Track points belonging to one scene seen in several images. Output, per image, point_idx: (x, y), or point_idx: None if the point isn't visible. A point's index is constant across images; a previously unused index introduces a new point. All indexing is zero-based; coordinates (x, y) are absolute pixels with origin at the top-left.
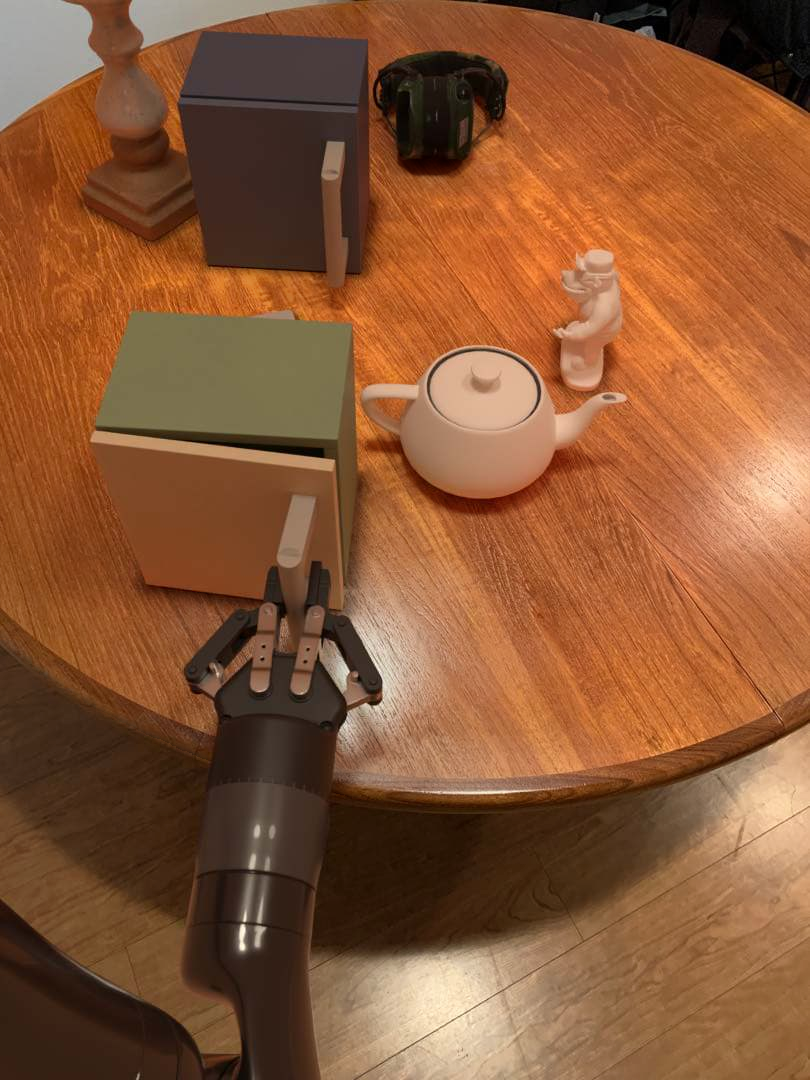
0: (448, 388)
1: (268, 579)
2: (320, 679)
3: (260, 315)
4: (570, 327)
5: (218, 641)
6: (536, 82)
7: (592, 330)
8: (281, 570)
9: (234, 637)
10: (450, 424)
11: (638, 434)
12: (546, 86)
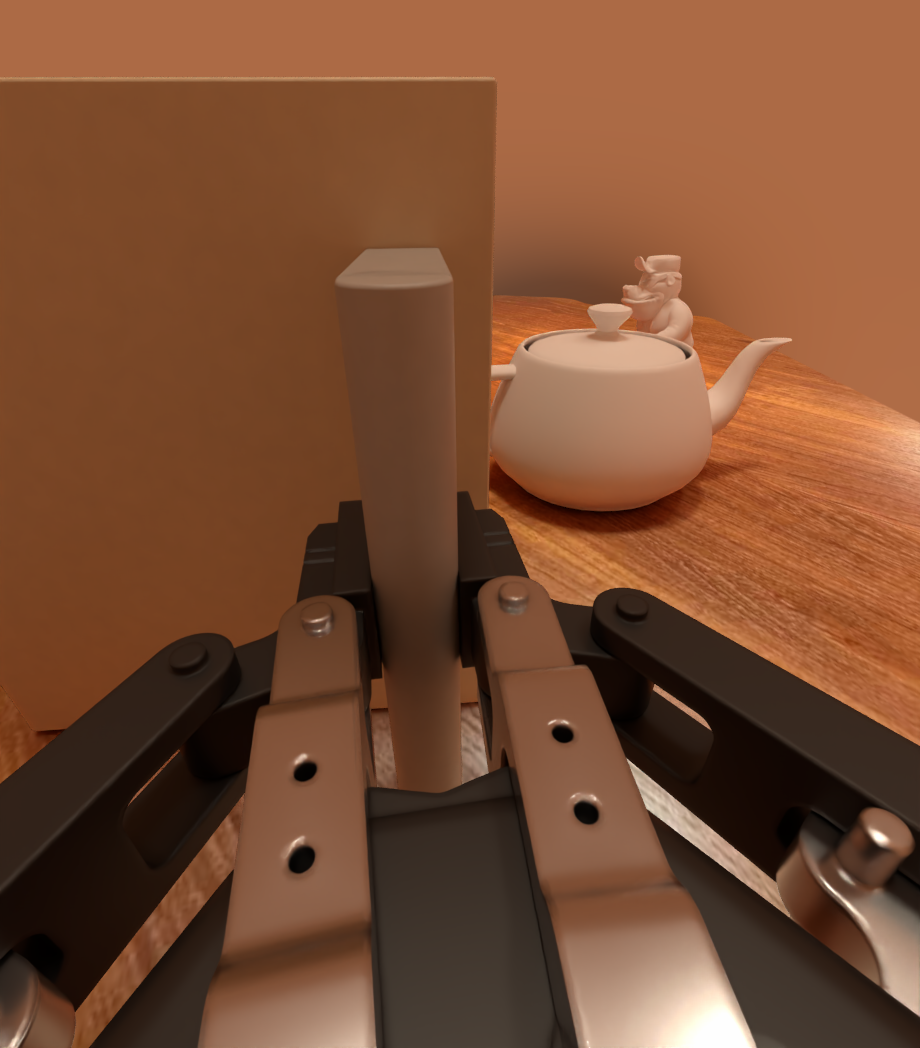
0: (560, 348)
1: (311, 553)
2: (721, 924)
3: None
4: None
5: (35, 803)
6: (495, 311)
7: (678, 332)
8: (364, 334)
9: (145, 763)
10: (587, 369)
11: (760, 442)
12: (504, 311)
